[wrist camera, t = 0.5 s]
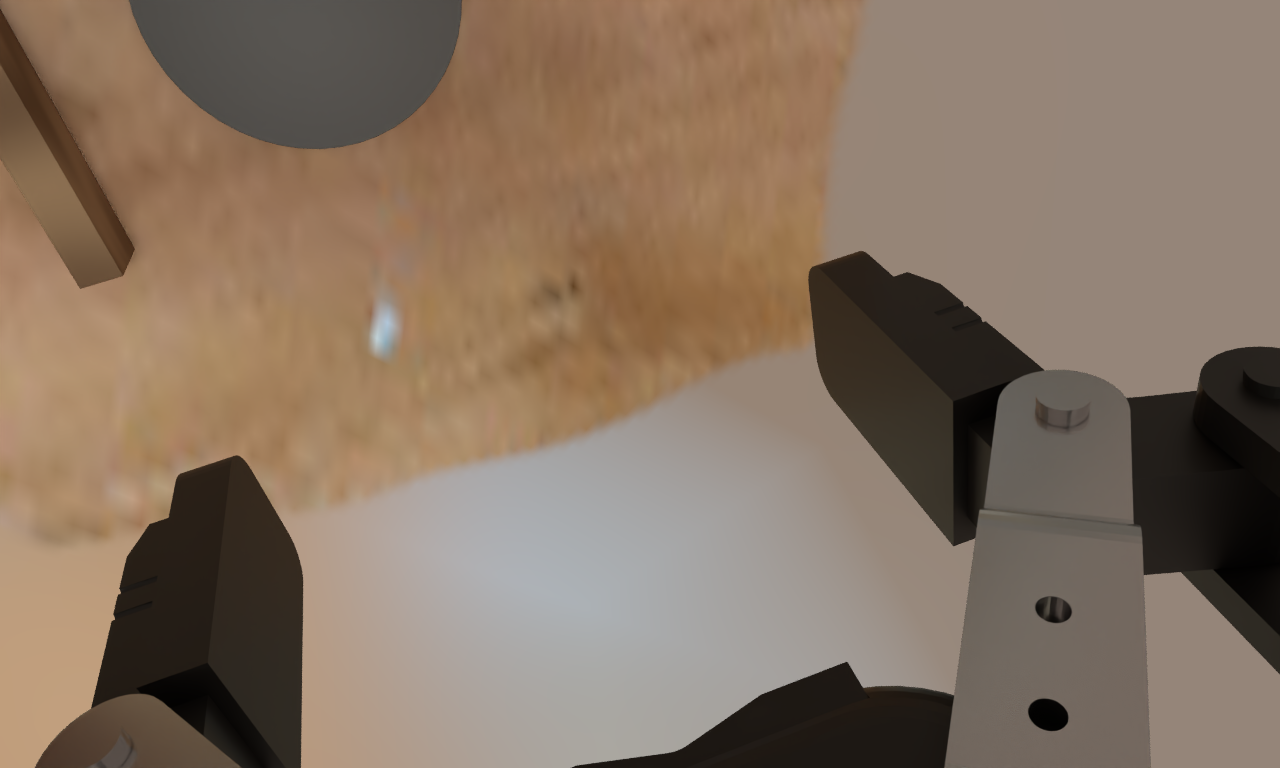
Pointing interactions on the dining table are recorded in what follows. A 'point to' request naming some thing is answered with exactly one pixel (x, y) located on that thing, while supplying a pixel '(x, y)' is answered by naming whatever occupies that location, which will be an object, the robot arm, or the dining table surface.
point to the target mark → (303, 62)
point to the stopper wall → (55, 173)
